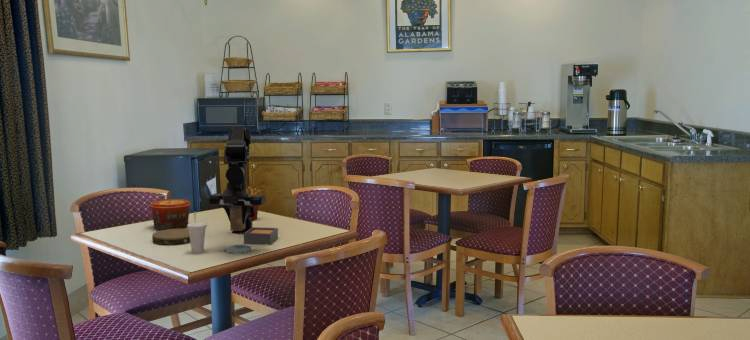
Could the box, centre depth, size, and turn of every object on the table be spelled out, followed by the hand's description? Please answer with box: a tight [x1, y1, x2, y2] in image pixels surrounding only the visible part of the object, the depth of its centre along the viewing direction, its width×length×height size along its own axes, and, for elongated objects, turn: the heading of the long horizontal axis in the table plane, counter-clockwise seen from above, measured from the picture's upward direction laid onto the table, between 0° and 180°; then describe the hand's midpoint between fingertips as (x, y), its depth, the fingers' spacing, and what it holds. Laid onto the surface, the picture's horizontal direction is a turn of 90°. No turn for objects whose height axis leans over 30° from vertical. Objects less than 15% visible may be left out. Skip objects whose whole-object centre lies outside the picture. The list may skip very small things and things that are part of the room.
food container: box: [148, 198, 192, 231], centre depth 237 cm, size 16×16×11 cm
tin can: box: [151, 228, 191, 247], centre depth 217 cm, size 16×16×3 cm
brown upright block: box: [229, 206, 245, 232], centre depth 202 cm, size 4×4×8 cm
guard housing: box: [243, 226, 279, 245], centre depth 216 cm, size 10×10×4 cm
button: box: [250, 229, 273, 234], centre depth 216 cm, size 8×8×2 cm
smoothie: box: [186, 211, 208, 254], centre depth 200 cm, size 6×6×14 cm
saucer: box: [224, 244, 252, 254], centre depth 203 cm, size 9×9×1 cm
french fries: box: [246, 186, 261, 222], centre depth 252 cm, size 9×8×15 cm
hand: (237, 223), depth 202 cm, fingers closed on brown upright block, 4 cm apart
